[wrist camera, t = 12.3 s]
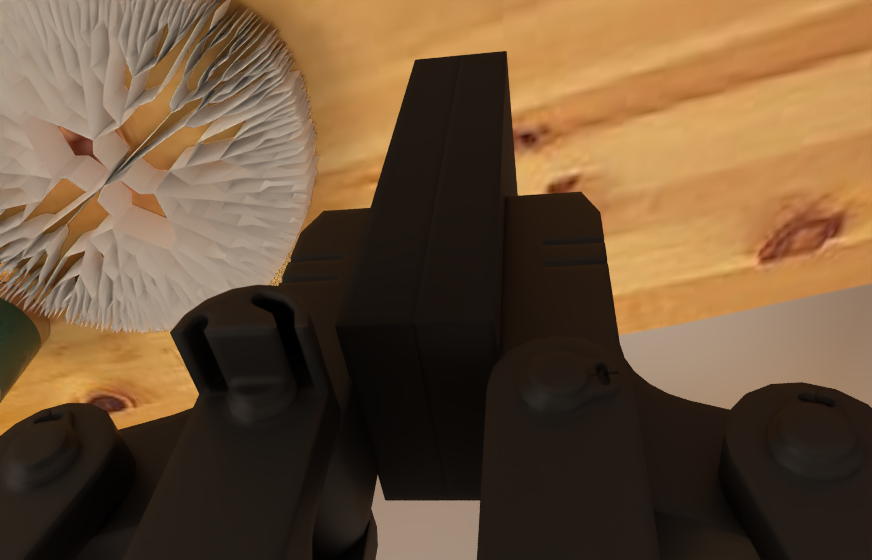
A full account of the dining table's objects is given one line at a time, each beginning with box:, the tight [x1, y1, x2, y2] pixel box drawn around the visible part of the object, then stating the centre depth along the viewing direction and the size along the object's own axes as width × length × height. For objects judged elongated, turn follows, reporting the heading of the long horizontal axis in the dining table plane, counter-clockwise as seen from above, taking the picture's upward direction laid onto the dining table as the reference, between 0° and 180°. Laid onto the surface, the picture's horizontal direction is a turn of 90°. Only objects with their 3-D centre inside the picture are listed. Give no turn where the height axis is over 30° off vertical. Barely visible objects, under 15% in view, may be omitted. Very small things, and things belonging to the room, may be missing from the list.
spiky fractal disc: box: [0, 0, 320, 334], centre depth 44 cm, size 22×28×3 cm
